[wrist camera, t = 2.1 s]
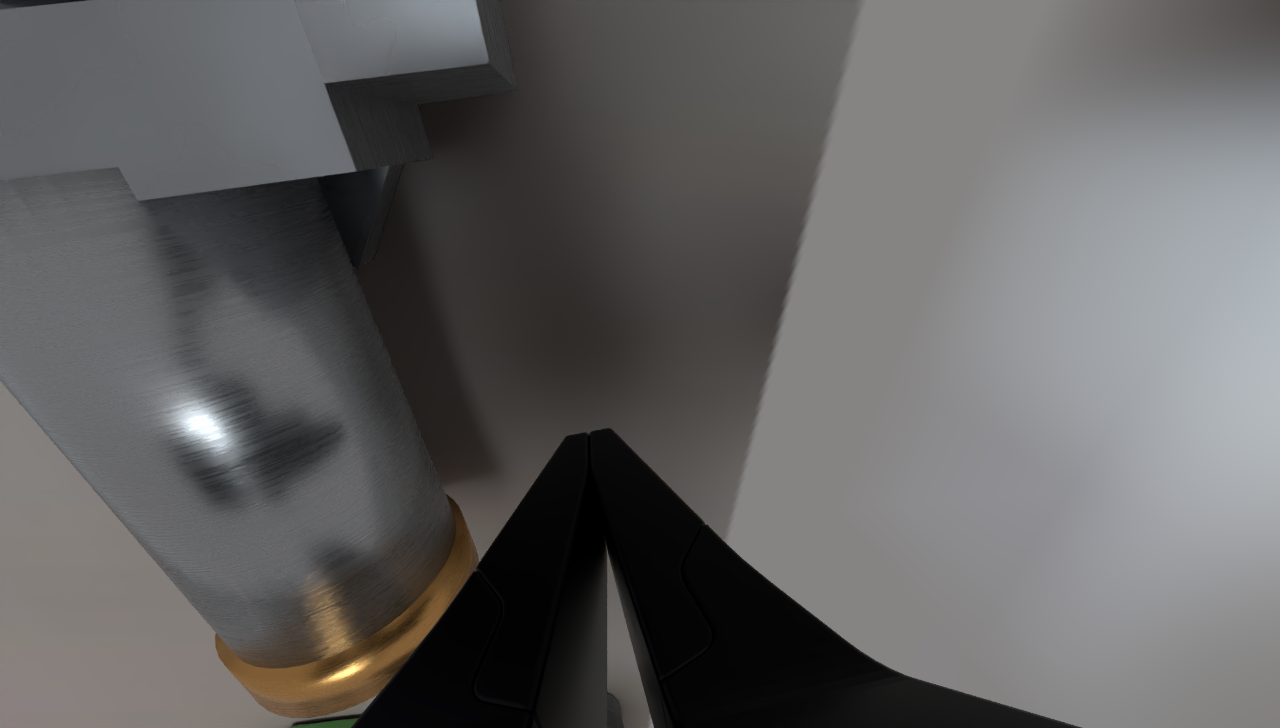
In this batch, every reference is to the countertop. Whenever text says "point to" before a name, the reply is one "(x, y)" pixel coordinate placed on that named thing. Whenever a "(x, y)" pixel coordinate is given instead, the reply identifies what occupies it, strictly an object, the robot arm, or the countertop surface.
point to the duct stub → (333, 190)
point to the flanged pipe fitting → (235, 309)
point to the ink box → (329, 724)
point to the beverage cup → (613, 713)
